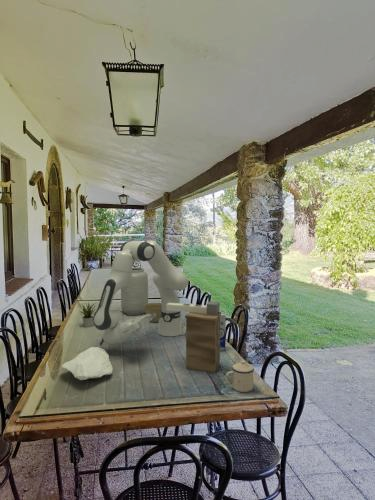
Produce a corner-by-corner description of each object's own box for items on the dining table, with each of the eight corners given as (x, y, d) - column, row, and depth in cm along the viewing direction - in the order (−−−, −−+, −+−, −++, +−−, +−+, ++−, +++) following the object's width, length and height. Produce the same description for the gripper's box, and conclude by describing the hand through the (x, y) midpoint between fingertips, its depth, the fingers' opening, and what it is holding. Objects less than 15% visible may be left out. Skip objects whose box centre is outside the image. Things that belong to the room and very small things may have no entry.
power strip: (169, 307, 188) (169, 298, 187) (219, 311, 180) (219, 302, 180) (165, 310, 182) (165, 300, 182) (216, 315, 174) (216, 304, 174)
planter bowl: (166, 324, 248) (166, 308, 247) (143, 323, 249) (142, 308, 248) (168, 317, 264) (168, 302, 263) (146, 317, 265) (146, 302, 264)
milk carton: (213, 351, 198) (213, 315, 196) (209, 347, 204) (209, 312, 202) (225, 350, 200) (226, 314, 198) (221, 346, 206) (221, 311, 204)
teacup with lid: (250, 382, 162) (250, 356, 161) (256, 392, 153) (256, 364, 152) (223, 383, 160) (223, 357, 159) (228, 393, 151) (228, 366, 150)
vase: (118, 311, 282) (117, 267, 279) (143, 308, 290) (143, 266, 287) (125, 317, 263) (124, 271, 260) (151, 314, 272) (151, 269, 269)
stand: (191, 359, 187) (192, 309, 184) (220, 363, 182) (221, 312, 180) (184, 369, 175) (184, 315, 173) (215, 373, 171) (216, 318, 168)
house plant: (104, 323, 250) (103, 299, 248) (97, 329, 236) (96, 304, 235) (83, 322, 251) (83, 299, 250) (75, 328, 238) (75, 304, 236)
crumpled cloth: (50, 388, 153) (53, 367, 152) (70, 355, 187) (72, 338, 187) (107, 394, 155) (110, 373, 154) (116, 361, 190) (119, 344, 189)
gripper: (118, 328, 182) (140, 316, 178) (135, 317, 202) (156, 307, 198) (123, 339, 182) (146, 328, 178) (141, 328, 201) (161, 317, 197)
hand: (151, 317), depth 188 cm, fingers open, 8 cm apart
